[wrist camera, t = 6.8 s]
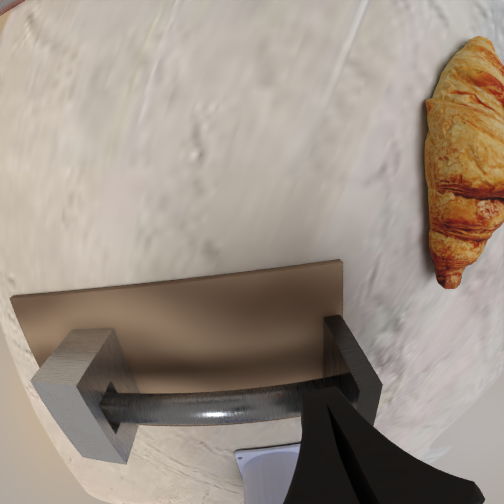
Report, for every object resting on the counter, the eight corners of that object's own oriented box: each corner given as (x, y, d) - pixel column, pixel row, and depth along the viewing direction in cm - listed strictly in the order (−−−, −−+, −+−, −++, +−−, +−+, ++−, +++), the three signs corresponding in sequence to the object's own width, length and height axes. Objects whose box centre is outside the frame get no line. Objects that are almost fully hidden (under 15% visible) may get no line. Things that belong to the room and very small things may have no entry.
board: (335, 404, 23) (337, 409, 23) (70, 413, 23) (68, 416, 23) (339, 259, 19) (342, 262, 19) (13, 295, 19) (9, 298, 19)
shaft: (336, 387, 21) (364, 458, 14) (130, 404, 21) (106, 471, 14) (339, 314, 19) (382, 384, 12) (101, 338, 19) (57, 403, 12)
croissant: (425, 37, 18) (431, -13, 10) (518, 73, 14) (549, 37, 7) (387, 259, 23) (389, 283, 16) (485, 293, 19) (519, 327, 12)
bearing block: (145, 404, 22) (126, 464, 15) (107, 402, 22) (82, 456, 15) (114, 327, 20) (75, 386, 13) (72, 328, 20) (30, 380, 13)
